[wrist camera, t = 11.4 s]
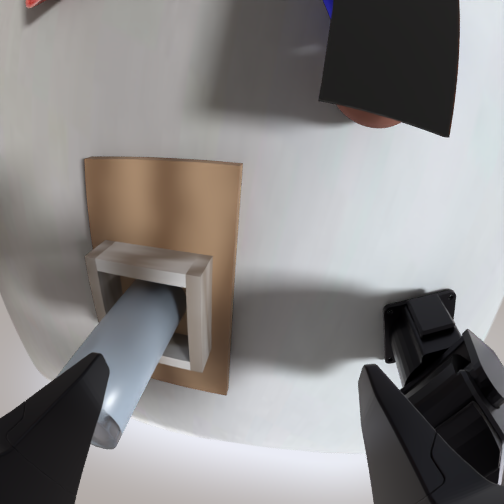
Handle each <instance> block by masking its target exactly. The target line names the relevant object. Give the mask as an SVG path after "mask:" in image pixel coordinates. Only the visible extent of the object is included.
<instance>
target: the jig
mask: <svg viewBox="0 0 504 504" xmlns="http://www.w3.org/2000/svg"><path fill="white" fill-rule="evenodd" d="M84 163H85V181H86V194H87V206H88V215H89V224H90V232H91V240H92V247H93V250H92V251H91V252H90V253H88V254H87V255H86V256H85V262H86V267H87V272H88V278H89V283H90V287H91V292H92V297H93V301H94V305H95V310H96V314H97V318H98V322H100V321H101V320H102V319H103V318H104V316H105V315H106V314H107V313H108V312H109V310H110V309H111V308H112V307H113V306H114V304H115V303H116V302H117V301H118V300H119V299H120V297H121V296H122V295H123V294H124V293H125V292H126V290H127V289H128V288H129V287H130V286H131V285H132V283H133V282H134V281H135V280H136V279H140V280H146V281H151V282H156V283H162V284H167V285H173V286H178V287H181V288H182V289H183V291H184V293H185V295H186V304H187V308H186V311H185V313H184V315H183V317H182V319H181V321H180V323H179V324H178V326H177V328H176V330H175V332H174V334H173V336H172V338H171V339H170V341H169V343H168V345H167V347H166V349H165V351H164V353H163V355H162V357H161V358H160V360H159V362H158V364H157V366H156V368H155V370H154V372H153V374H152V376H151V378H153V379H156V380H160V381H164V382H168V383H172V384H176V385H180V386H184V387H188V388H193V389H197V390H202V391H206V392H211V393H216V394H221V395H227V391H228V384H229V365H230V347H231V329H232V312H233V296H234V280H235V265H236V250H237V235H238V221H239V207H240V194H241V180H242V167H243V163H232V162H221V161H208V160H194V159H177V158H154V157H89V158H86V159H84Z"/></svg>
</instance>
